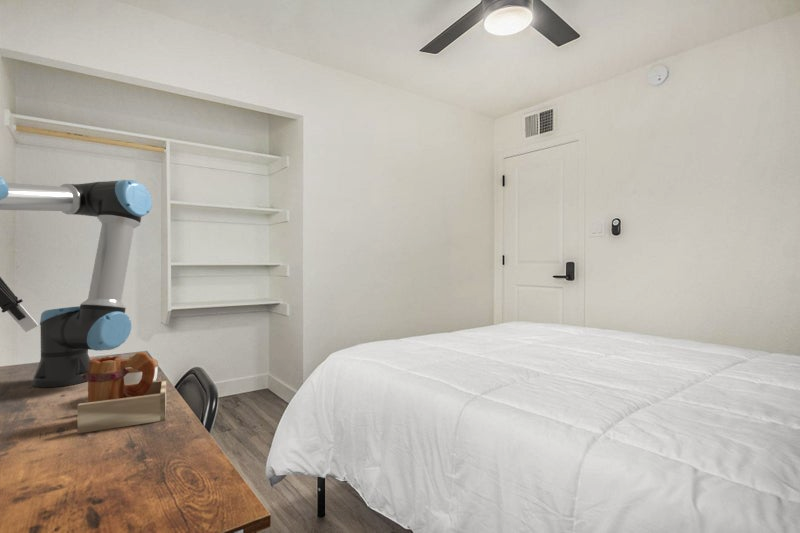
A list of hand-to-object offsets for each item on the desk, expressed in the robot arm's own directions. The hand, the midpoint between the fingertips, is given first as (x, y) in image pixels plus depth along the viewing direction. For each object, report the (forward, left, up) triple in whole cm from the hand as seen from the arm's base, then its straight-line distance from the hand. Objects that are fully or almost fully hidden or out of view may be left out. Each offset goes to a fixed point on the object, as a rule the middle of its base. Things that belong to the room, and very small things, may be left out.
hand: (32, 328), depth 104 cm
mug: (+15, +20, -21) cm, 32 cm away
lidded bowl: (-3, +21, -21) cm, 30 cm away
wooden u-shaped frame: (+15, +21, -21) cm, 33 cm away
